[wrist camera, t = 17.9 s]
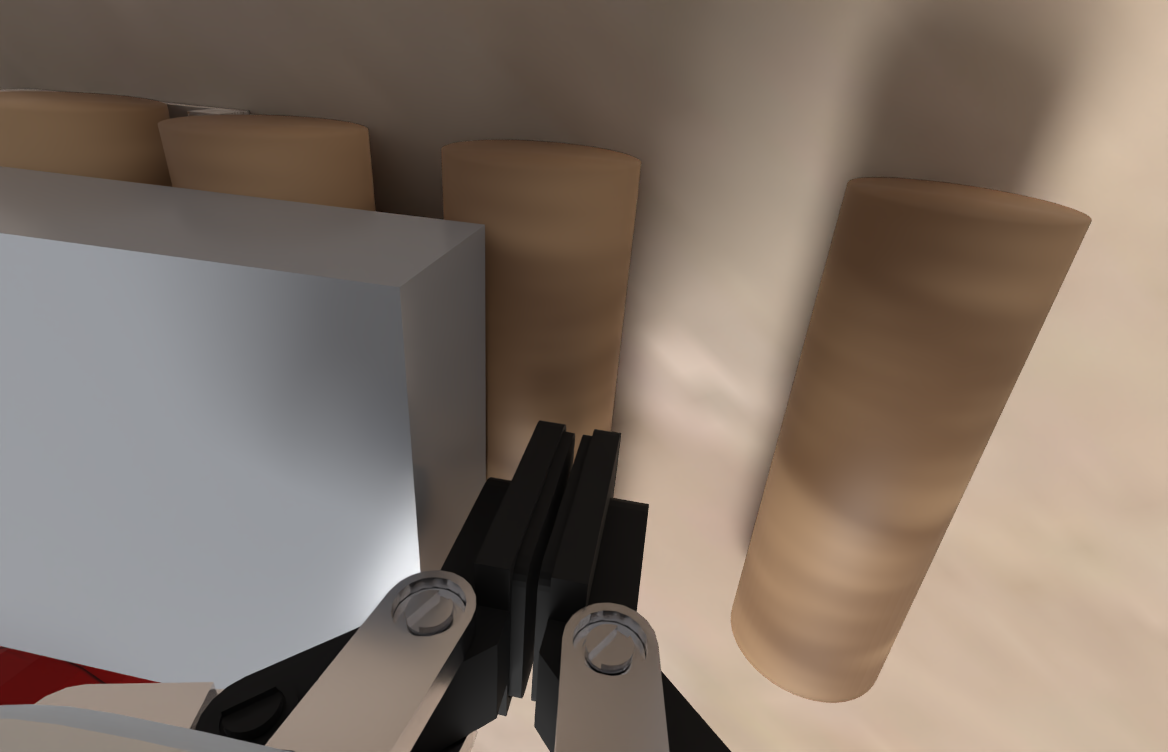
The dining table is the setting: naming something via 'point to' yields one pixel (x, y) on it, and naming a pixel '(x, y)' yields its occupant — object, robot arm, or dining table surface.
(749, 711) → the dining table surface
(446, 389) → the slab
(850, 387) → the roller bed
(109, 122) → the roller
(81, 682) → the plastic cup
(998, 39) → the dining table surface
